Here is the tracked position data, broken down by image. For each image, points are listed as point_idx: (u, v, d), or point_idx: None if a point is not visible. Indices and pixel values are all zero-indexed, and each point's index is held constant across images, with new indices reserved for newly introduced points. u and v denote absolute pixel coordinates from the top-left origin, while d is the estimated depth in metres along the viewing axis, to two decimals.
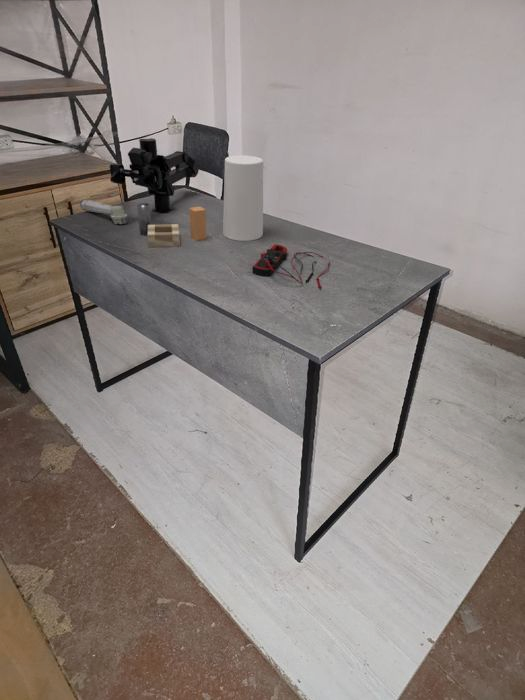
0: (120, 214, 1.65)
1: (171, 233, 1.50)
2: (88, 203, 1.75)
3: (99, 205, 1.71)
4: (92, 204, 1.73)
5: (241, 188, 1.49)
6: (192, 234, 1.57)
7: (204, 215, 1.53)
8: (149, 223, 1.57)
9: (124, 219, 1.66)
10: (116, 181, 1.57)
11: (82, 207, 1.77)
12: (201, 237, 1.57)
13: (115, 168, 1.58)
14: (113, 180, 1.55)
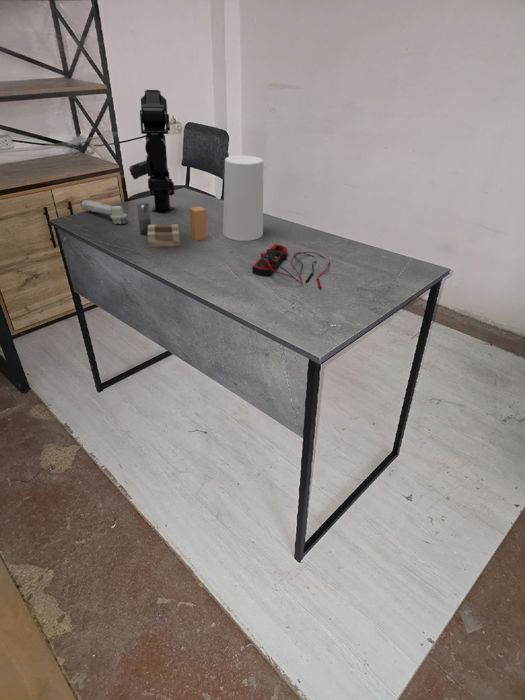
0: (119, 214, 1.65)
1: (171, 233, 1.50)
2: (88, 203, 1.75)
3: (99, 205, 1.71)
4: (92, 204, 1.73)
5: (241, 188, 1.49)
6: (192, 234, 1.57)
7: (204, 215, 1.53)
8: (149, 223, 1.57)
9: (123, 219, 1.66)
10: None
11: (82, 207, 1.77)
12: (201, 237, 1.57)
13: None
14: None
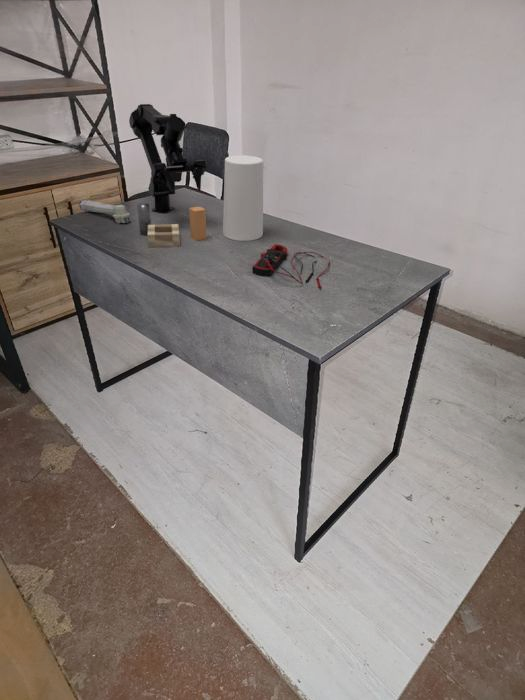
0: (123, 213, 1.66)
1: (171, 233, 1.50)
2: (88, 203, 1.75)
3: (100, 205, 1.71)
4: (92, 204, 1.73)
5: (241, 188, 1.49)
6: (192, 234, 1.57)
7: (204, 215, 1.53)
8: (149, 223, 1.57)
9: (127, 218, 1.67)
10: (197, 180, 1.58)
11: (81, 207, 1.77)
12: (201, 237, 1.57)
13: None
14: (198, 186, 1.58)
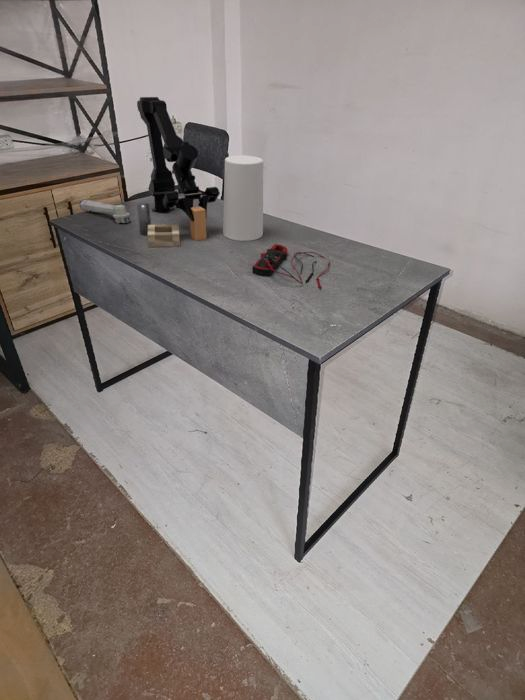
0: (123, 213, 1.66)
1: (171, 233, 1.50)
2: (88, 203, 1.75)
3: (100, 205, 1.71)
4: (92, 204, 1.73)
5: (241, 188, 1.49)
6: (192, 234, 1.57)
7: (204, 215, 1.53)
8: (149, 223, 1.57)
9: (127, 218, 1.67)
10: None
11: (81, 207, 1.77)
12: (201, 237, 1.57)
13: None
14: None
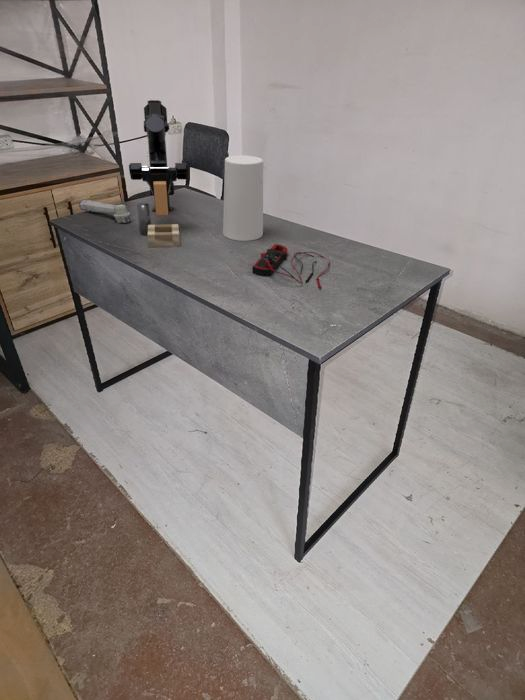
0: (123, 213, 1.66)
1: (171, 233, 1.50)
2: (88, 203, 1.75)
3: (100, 205, 1.71)
4: (92, 204, 1.73)
5: (241, 188, 1.49)
6: None
7: (165, 190, 1.51)
8: (149, 223, 1.57)
9: (128, 218, 1.68)
10: (166, 183, 1.51)
11: (81, 207, 1.77)
12: (162, 212, 1.54)
13: None
14: None
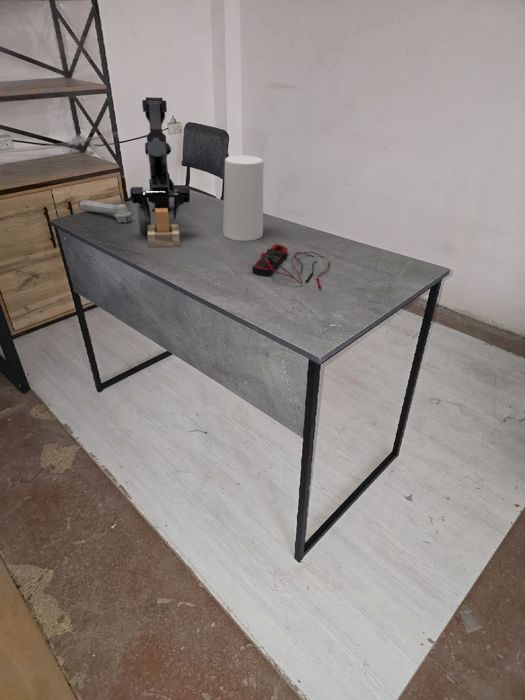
0: (124, 213, 1.67)
1: (171, 233, 1.50)
2: (87, 203, 1.75)
3: (100, 204, 1.71)
4: (92, 204, 1.73)
5: (241, 188, 1.49)
6: None
7: (167, 217, 1.49)
8: (149, 223, 1.57)
9: (128, 217, 1.68)
10: (173, 207, 1.50)
11: (81, 207, 1.77)
12: None
13: None
14: None
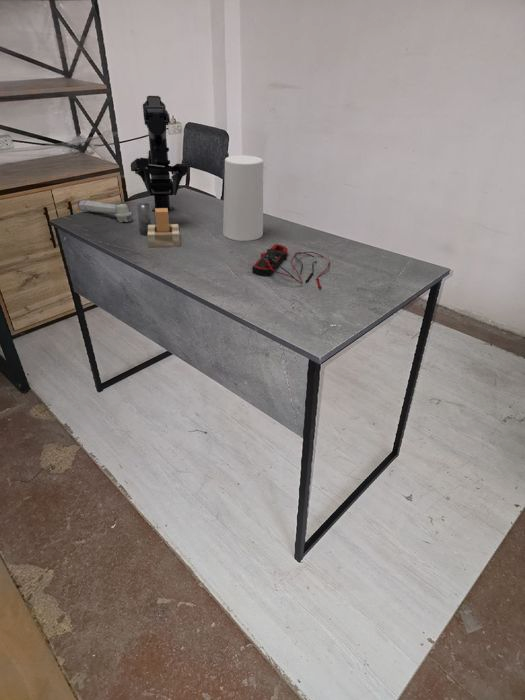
0: (125, 212, 1.67)
1: (171, 233, 1.50)
2: (87, 203, 1.74)
3: (100, 204, 1.71)
4: (92, 204, 1.73)
5: (241, 188, 1.49)
6: None
7: (167, 217, 1.49)
8: (149, 223, 1.57)
9: (129, 217, 1.68)
10: (175, 184, 1.58)
11: (80, 207, 1.77)
12: None
13: None
14: (174, 191, 1.59)
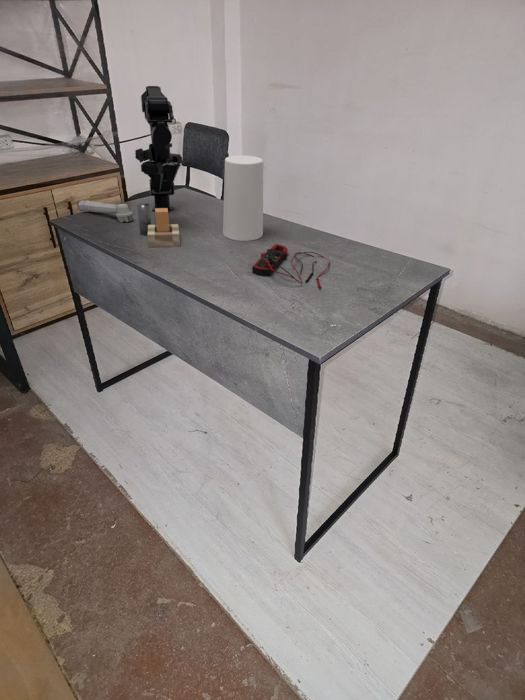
0: (126, 212, 1.67)
1: (171, 233, 1.50)
2: (87, 203, 1.74)
3: (100, 204, 1.71)
4: (92, 204, 1.73)
5: (241, 188, 1.49)
6: None
7: (167, 217, 1.49)
8: (149, 223, 1.57)
9: (130, 217, 1.69)
10: (172, 177, 1.62)
11: (80, 208, 1.77)
12: None
13: None
14: (171, 182, 1.63)
